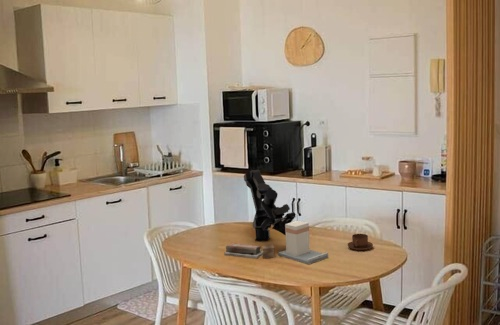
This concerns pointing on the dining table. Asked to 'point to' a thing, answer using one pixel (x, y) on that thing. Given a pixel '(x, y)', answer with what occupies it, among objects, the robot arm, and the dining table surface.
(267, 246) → the walnut block
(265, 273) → the dining table surface
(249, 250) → the packaged product
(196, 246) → the dining table surface
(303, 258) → the podium
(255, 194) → the robot arm
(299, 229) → the carton
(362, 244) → the cup and saucer
